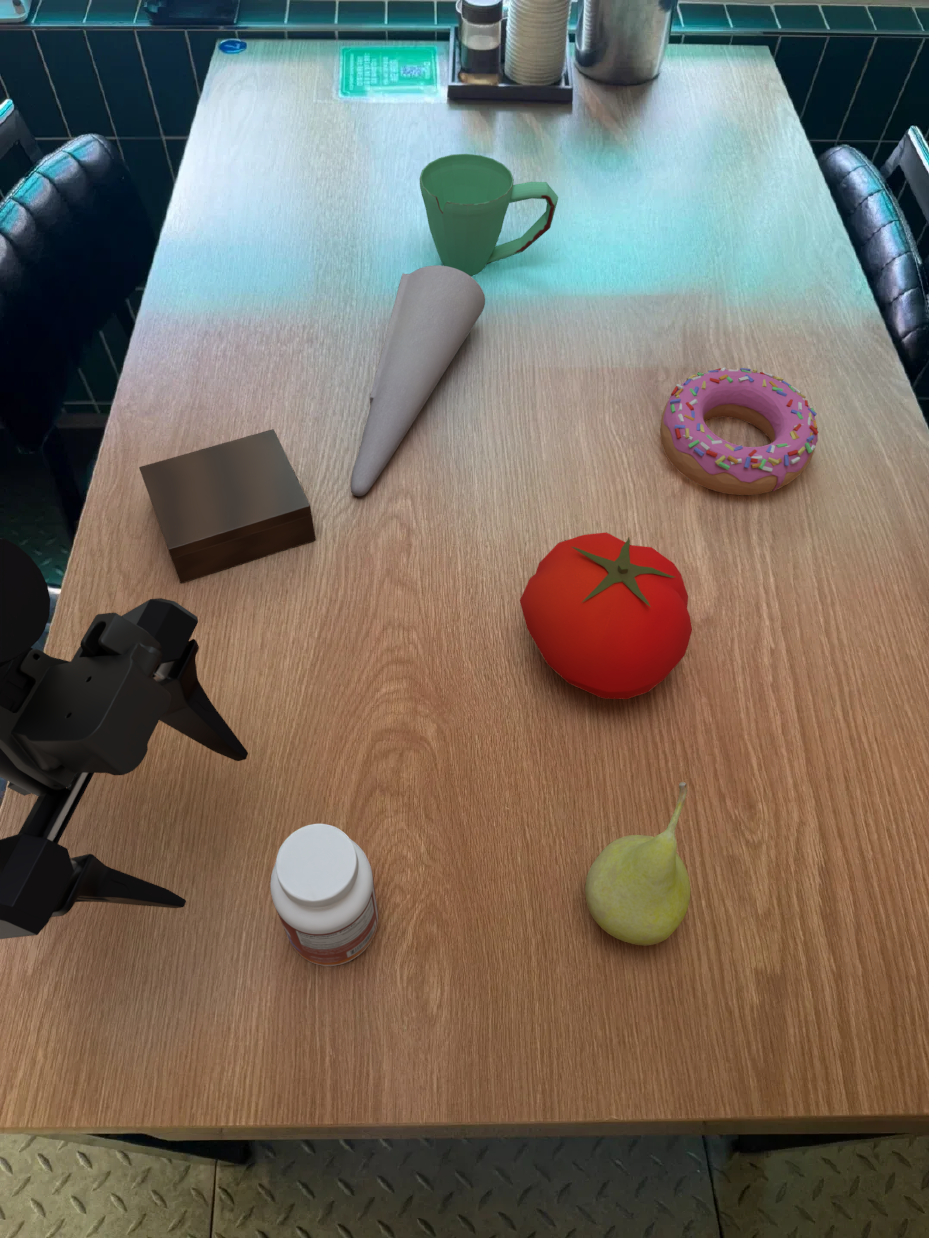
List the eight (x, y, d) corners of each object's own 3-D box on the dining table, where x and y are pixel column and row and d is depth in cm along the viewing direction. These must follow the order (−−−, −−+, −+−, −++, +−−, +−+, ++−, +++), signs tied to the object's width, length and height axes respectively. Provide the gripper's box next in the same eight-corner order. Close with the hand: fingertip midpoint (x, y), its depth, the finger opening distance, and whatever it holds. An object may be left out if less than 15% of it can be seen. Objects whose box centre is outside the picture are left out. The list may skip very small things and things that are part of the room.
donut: (634, 411, 93) (644, 371, 89) (767, 389, 95) (782, 349, 91) (690, 518, 85) (703, 479, 81) (834, 491, 87) (853, 452, 83)
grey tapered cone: (440, 481, 81) (487, 271, 93) (341, 466, 81) (400, 259, 94) (440, 531, 88) (483, 329, 100) (349, 517, 88) (403, 318, 100)
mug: (420, 289, 104) (419, 204, 95) (421, 237, 109) (420, 152, 101) (553, 291, 104) (563, 206, 96) (547, 239, 110) (556, 155, 102)
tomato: (709, 676, 75) (744, 597, 67) (584, 748, 71) (605, 674, 63) (608, 564, 82) (628, 479, 73) (489, 625, 78) (495, 542, 69)
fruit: (565, 932, 63) (589, 866, 54) (602, 835, 67) (630, 758, 58) (661, 974, 62) (703, 915, 52) (693, 872, 66) (737, 800, 56)
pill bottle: (292, 875, 65) (269, 808, 56) (381, 877, 65) (373, 810, 56) (281, 968, 62) (254, 912, 53) (376, 969, 62) (365, 914, 53)
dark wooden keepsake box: (180, 583, 80) (168, 549, 76) (151, 502, 85) (138, 466, 81) (316, 540, 83) (310, 505, 79) (280, 464, 88) (273, 428, 84)
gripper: (-99, 843, 36) (228, 991, 44) (118, 493, 47) (351, 661, 54) (-174, 870, 43) (117, 992, 51) (29, 562, 54) (244, 702, 62)
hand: (214, 827), depth 54 cm, fingers open, 9 cm apart
